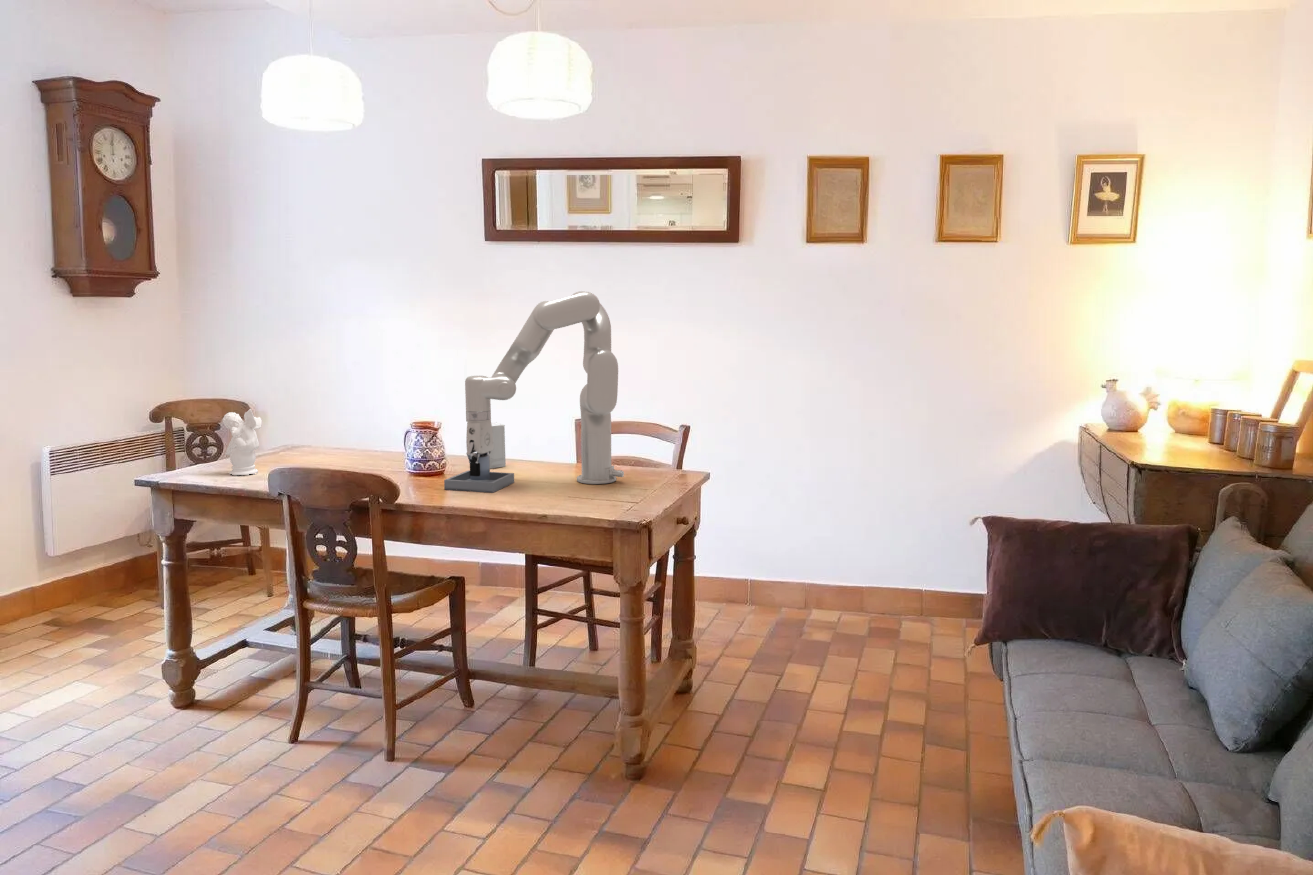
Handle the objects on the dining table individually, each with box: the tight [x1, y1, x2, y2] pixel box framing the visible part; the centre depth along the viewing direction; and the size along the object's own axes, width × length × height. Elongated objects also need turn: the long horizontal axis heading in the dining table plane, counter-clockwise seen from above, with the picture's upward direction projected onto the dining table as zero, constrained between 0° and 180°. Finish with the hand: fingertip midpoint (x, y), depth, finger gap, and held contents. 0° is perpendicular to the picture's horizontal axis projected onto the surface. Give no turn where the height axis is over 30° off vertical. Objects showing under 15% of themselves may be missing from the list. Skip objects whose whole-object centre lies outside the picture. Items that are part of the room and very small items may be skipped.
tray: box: [443, 470, 515, 494], centre depth 301 cm, size 16×16×3 cm
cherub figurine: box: [222, 408, 263, 476], centre depth 319 cm, size 12×12×22 cm
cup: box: [470, 454, 491, 480], centre depth 300 cm, size 6×6×7 cm
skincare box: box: [490, 422, 507, 470], centre depth 331 cm, size 8×6×15 cm
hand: (480, 473), depth 301 cm, fingers closed on cup, 6 cm apart
